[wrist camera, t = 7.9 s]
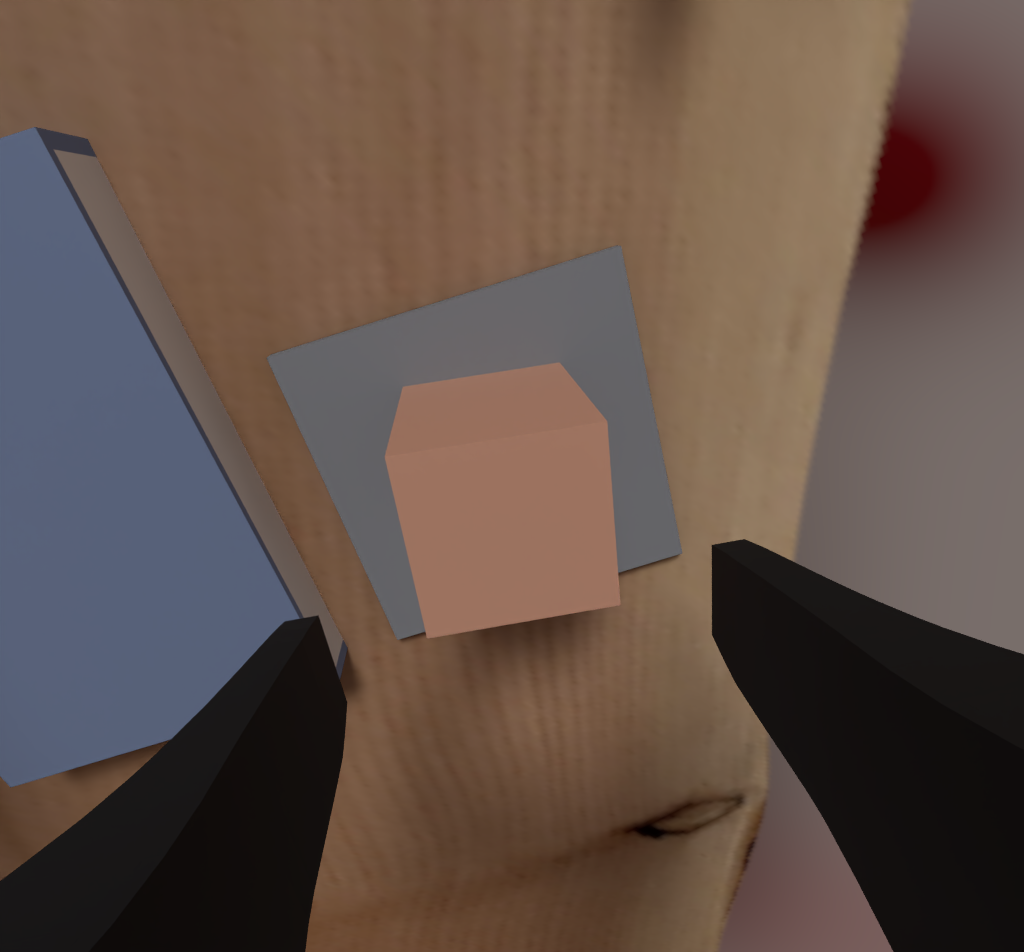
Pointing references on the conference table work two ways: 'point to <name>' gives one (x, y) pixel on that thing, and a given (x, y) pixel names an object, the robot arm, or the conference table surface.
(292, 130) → the conference table surface
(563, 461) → the terracotta block
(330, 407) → the felt mat
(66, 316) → the navy book
